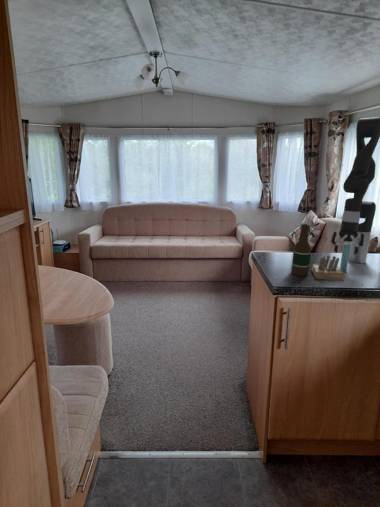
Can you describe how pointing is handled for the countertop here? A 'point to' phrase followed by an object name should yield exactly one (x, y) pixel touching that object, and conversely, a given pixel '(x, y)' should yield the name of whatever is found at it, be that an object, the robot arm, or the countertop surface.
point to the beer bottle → (301, 253)
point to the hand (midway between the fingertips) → (345, 253)
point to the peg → (345, 257)
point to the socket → (328, 269)
